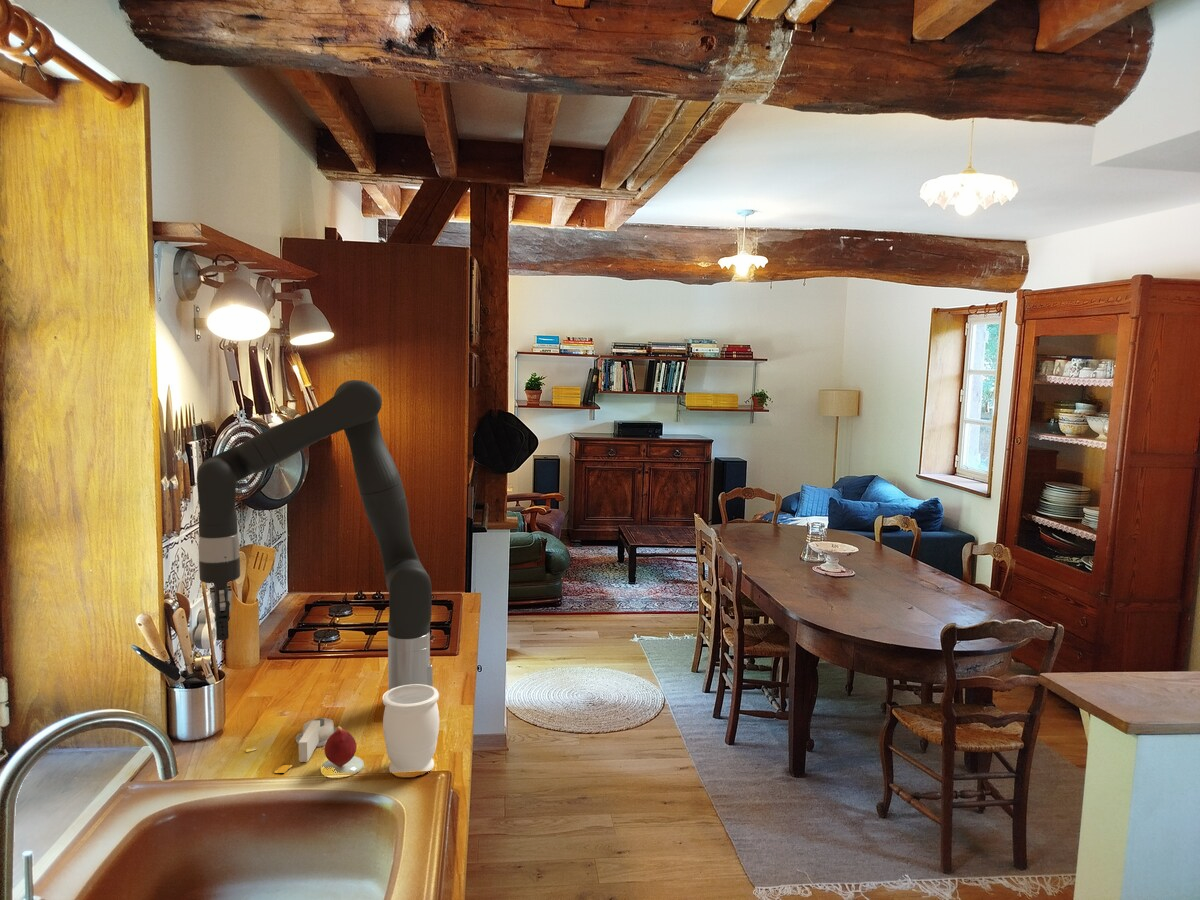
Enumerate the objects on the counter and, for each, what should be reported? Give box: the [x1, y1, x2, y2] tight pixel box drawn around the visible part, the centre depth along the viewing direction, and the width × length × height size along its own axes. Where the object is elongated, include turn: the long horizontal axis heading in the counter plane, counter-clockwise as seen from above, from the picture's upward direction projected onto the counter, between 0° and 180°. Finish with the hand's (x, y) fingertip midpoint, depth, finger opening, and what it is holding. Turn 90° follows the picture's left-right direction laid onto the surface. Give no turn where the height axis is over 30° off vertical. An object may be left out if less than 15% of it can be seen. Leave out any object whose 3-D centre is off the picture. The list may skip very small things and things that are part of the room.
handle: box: [298, 717, 335, 763], centre depth 163 cm, size 14×6×4 cm, turn 5°
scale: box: [244, 726, 337, 751], centre depth 161 cm, size 18×17×1 cm
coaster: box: [321, 755, 365, 773], centre depth 155 cm, size 8×8×1 cm
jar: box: [382, 684, 440, 773], centre depth 154 cm, size 11×10×15 cm
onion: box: [324, 726, 358, 767], centre depth 154 cm, size 6×6×8 cm
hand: (222, 638), depth 164 cm, fingers closed
